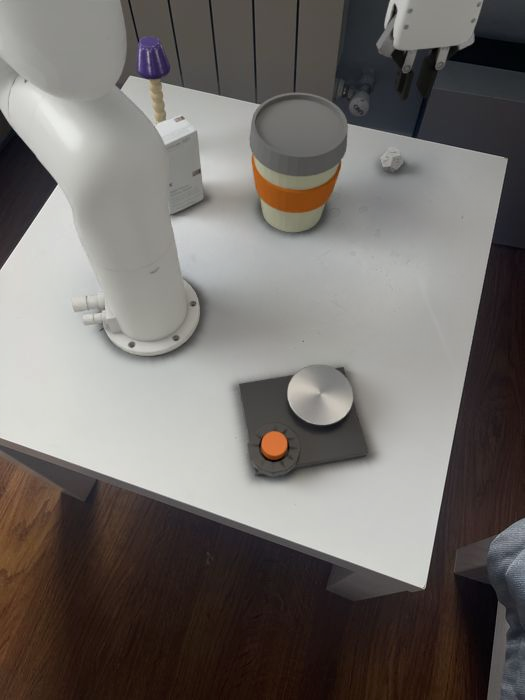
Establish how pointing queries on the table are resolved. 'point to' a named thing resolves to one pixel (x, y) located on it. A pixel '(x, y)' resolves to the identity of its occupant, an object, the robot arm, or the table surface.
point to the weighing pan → (320, 395)
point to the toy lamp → (153, 71)
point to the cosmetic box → (182, 163)
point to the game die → (391, 159)
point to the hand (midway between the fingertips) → (411, 91)
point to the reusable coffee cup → (296, 157)
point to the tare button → (274, 445)
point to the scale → (294, 430)
